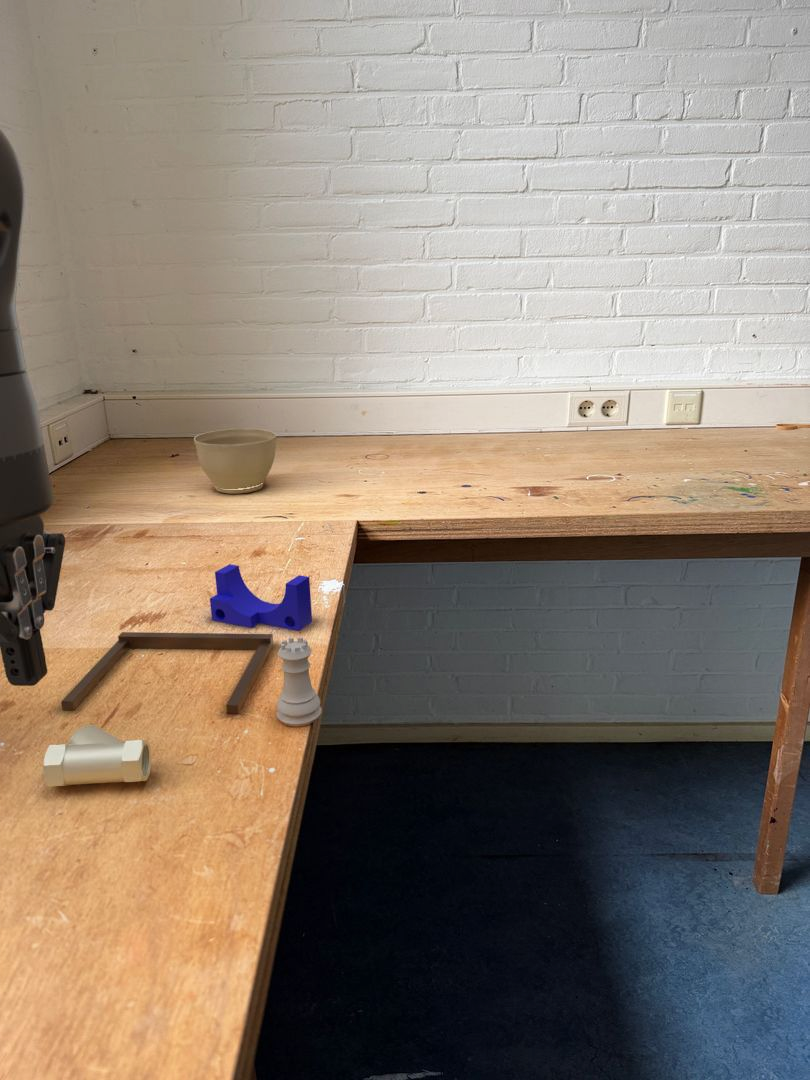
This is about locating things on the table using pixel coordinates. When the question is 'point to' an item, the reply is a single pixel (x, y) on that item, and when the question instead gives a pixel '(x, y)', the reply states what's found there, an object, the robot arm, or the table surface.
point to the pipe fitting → (96, 759)
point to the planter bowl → (236, 457)
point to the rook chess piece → (297, 685)
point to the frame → (182, 641)
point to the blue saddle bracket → (259, 603)
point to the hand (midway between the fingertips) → (28, 680)
